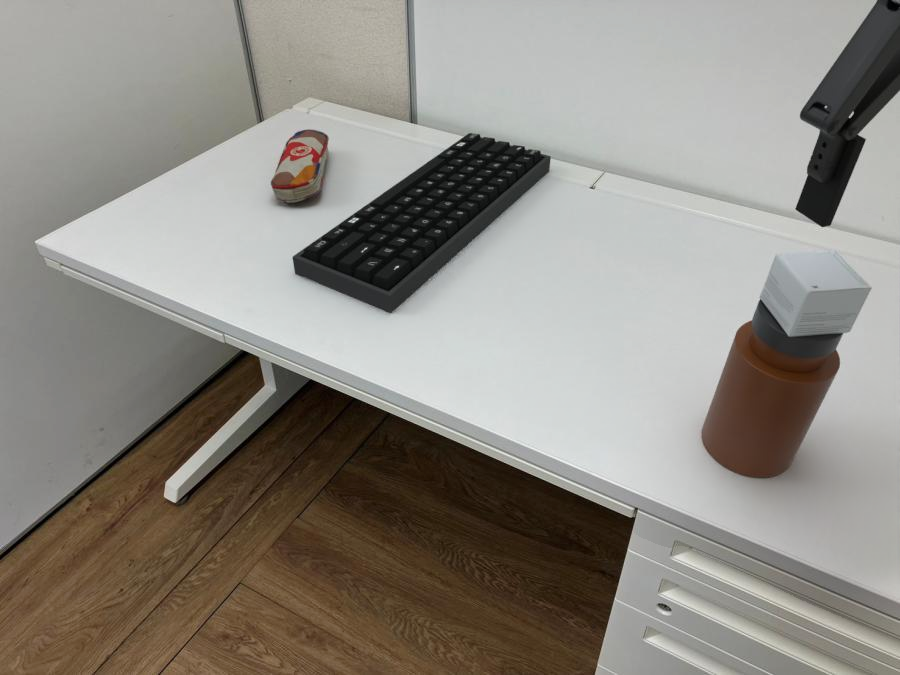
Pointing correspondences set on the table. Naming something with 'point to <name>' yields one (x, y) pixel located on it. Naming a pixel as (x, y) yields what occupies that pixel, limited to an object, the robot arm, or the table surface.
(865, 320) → the table surface
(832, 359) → the bottle
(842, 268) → the small box
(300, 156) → the pencil case
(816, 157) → the robot arm
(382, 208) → the computer keyboard
